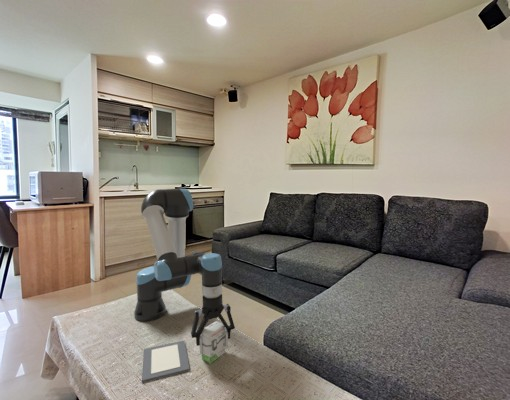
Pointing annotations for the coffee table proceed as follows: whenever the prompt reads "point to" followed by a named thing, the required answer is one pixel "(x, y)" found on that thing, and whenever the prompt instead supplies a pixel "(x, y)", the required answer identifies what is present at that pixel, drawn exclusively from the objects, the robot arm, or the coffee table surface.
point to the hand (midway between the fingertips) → (213, 349)
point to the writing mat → (164, 361)
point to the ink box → (213, 341)
